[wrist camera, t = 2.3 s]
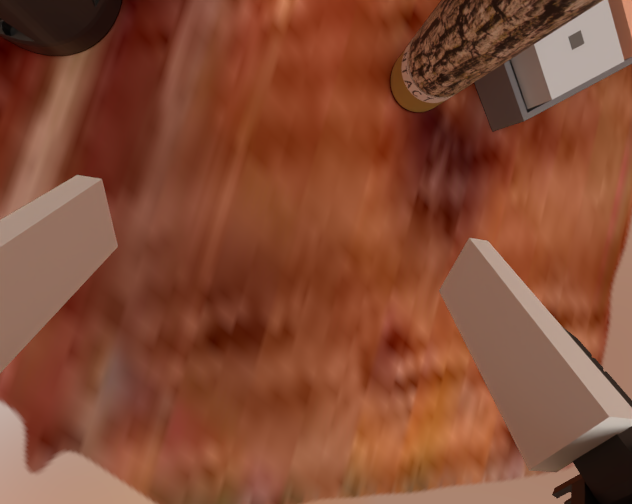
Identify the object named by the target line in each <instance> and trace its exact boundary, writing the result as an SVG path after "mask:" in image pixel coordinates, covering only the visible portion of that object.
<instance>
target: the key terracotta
mask: <svg viewBox="0 0 632 504" xmlns="http://www.w3.org/2000/svg"><path fill="white" fill-rule="evenodd" d="M608 2H609V6H610V10H611V13H612V17H613V21H614V24H615V28H616V32H617V35H618V39H619V43H620V46H621V50H622V54H623V57H624V60H625V59H628V58H630V57H632V0H608Z"/></svg>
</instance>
